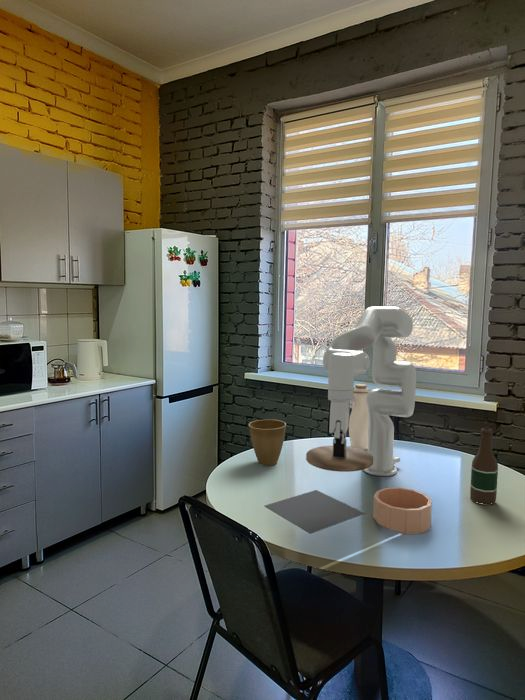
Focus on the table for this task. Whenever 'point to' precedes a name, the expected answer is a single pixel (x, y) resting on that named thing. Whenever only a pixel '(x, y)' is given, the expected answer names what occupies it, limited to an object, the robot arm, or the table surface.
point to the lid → (339, 459)
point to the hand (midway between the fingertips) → (339, 453)
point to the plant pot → (267, 440)
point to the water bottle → (359, 418)
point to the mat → (313, 511)
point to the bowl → (403, 510)
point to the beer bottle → (484, 471)
